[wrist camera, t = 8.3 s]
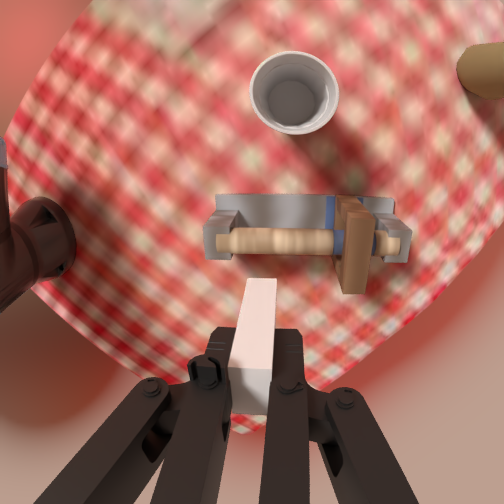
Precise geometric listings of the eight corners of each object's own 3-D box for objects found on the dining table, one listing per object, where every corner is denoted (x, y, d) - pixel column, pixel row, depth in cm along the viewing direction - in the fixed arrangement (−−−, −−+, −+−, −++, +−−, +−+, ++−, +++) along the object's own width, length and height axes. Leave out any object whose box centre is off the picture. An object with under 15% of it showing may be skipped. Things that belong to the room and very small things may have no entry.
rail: (220, 249, 44) (206, 276, 36) (216, 194, 41) (200, 210, 33) (385, 252, 41) (405, 279, 33) (392, 197, 38) (416, 215, 30)
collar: (331, 255, 41) (342, 294, 32) (335, 194, 37) (351, 218, 28) (348, 255, 41) (364, 294, 32) (354, 195, 37) (375, 219, 28)
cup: (334, 115, 35) (355, 109, 24) (280, 144, 37) (279, 150, 26) (301, 63, 33) (308, 37, 22) (247, 93, 35) (232, 78, 24)
